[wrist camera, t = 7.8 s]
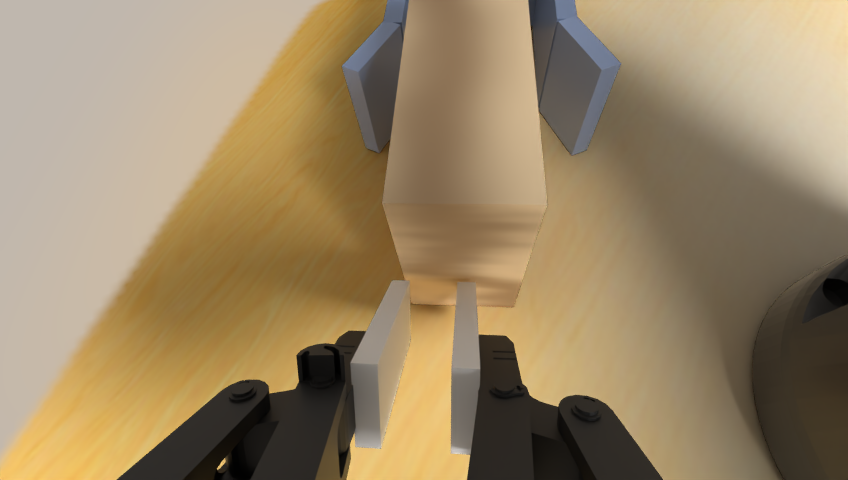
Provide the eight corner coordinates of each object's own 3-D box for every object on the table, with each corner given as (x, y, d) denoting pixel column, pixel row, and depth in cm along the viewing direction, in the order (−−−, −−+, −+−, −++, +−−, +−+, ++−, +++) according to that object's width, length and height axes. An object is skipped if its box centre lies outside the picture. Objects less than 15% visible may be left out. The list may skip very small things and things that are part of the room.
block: (505, 124, 26) (525, -26, 18) (513, 307, 20) (547, 204, 12) (426, 124, 26) (411, -21, 19) (411, 303, 21) (382, 203, 13)
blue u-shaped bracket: (568, 16, 30) (591, -78, 25) (587, 155, 24) (622, 69, 19) (390, 20, 32) (376, -68, 27) (364, 153, 26) (340, 72, 20)
